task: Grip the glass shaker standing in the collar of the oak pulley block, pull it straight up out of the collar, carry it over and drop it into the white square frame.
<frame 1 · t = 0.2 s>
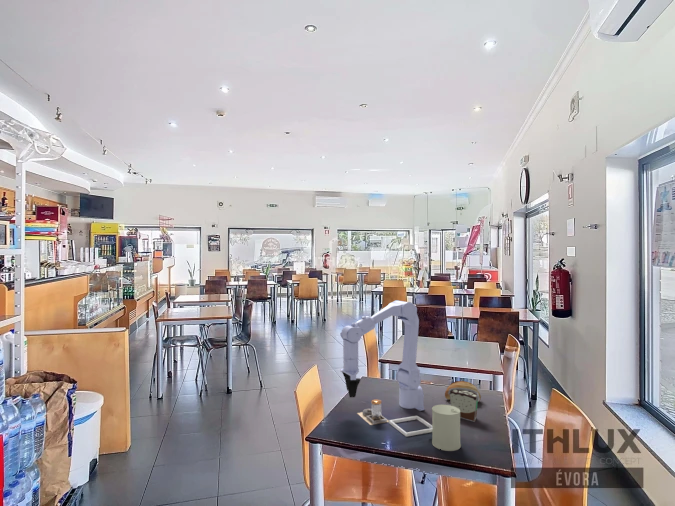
hand: (351, 393, 154), 10 cm above the table, tool pointing down, fingers open, 7 cm apart
can: (446, 445, 134), on the table
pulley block: (372, 421, 153), on the table
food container: (466, 416, 158), on the table
white square frame: (412, 431, 144), on the table
glass shaker: (376, 420, 150), point 1 cm above the table, touching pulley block
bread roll: (462, 401, 175), on the table
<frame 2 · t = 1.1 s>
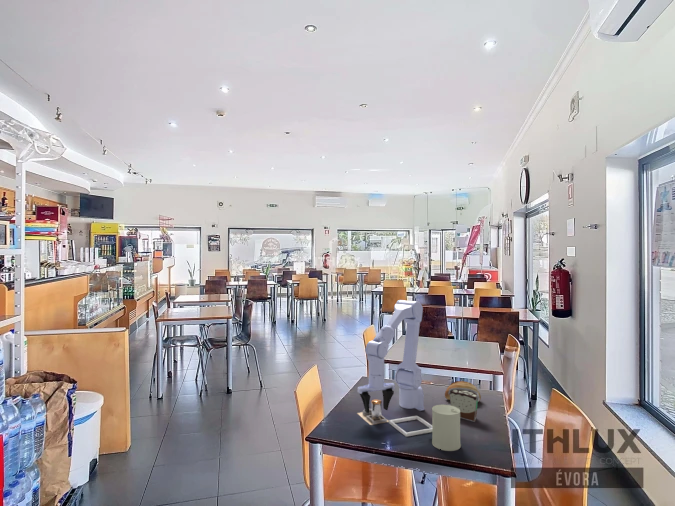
hand: (376, 410, 150), 5 cm above the table, tool pointing down, fingers open, 7 cm apart
nothing on the table moved.
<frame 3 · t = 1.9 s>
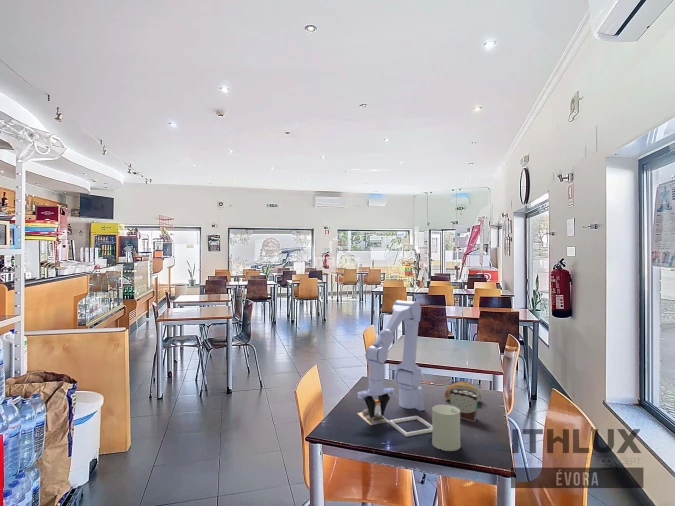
hand: (376, 415, 150), 3 cm above the table, tool pointing down, fingers closed on glass shaker, 4 cm apart
glass shaker: (376, 420, 150), point 2 cm above the table, touching gripper, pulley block
everything else where it was.
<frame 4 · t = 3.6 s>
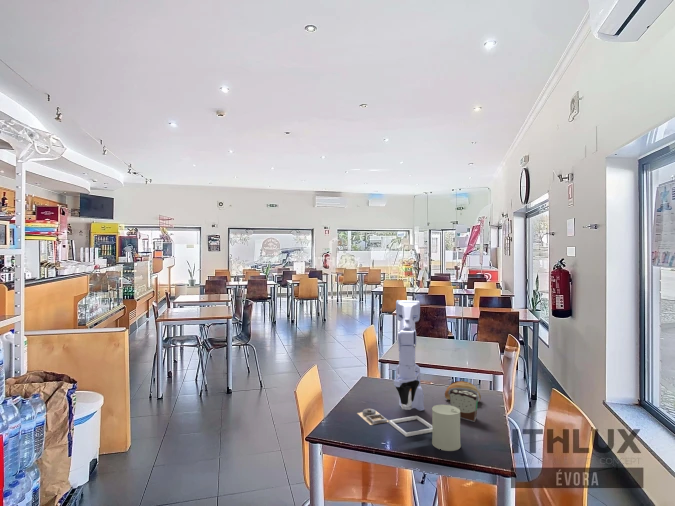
hand: (407, 402, 145), 10 cm above the table, tool pointing down, fingers closed on glass shaker, 4 cm apart
glass shaker: (406, 408, 145), point 8 cm above the table, touching gripper
everything else where it was.
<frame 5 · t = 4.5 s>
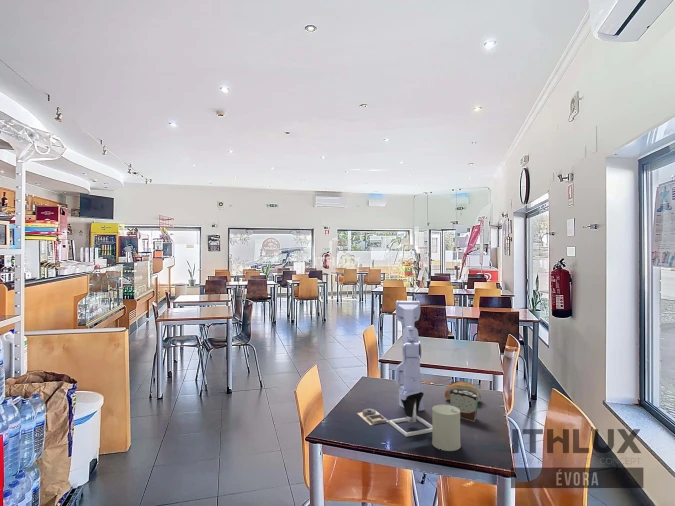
hand: (411, 414, 144), 6 cm above the table, tool pointing down, fingers closed on glass shaker, 4 cm apart
glass shaker: (411, 420, 144), point 4 cm above the table, touching gripper
everything else where it was.
when the fingers open (4 cm above the table, at t = 5.2 s): glass shaker drops 1 cm, resting on white square frame.
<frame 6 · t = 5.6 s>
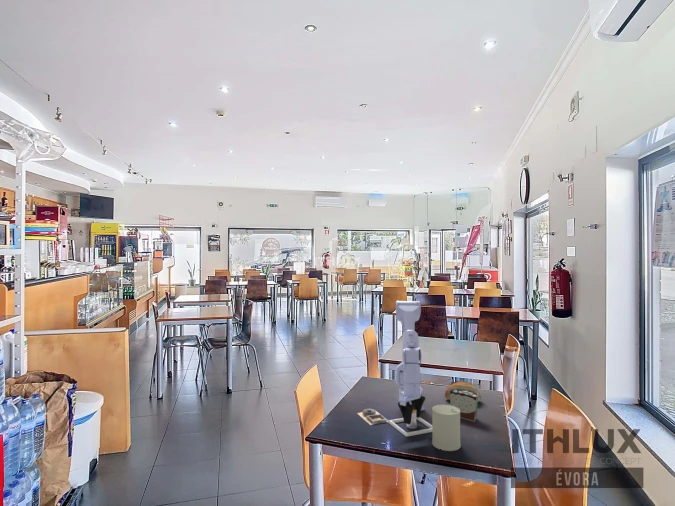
hand: (411, 420, 144), 4 cm above the table, tool pointing down, fingers open, 7 cm apart
glass shaker: (411, 429, 144), point 1 cm above the table, touching white square frame
everything else where it was.
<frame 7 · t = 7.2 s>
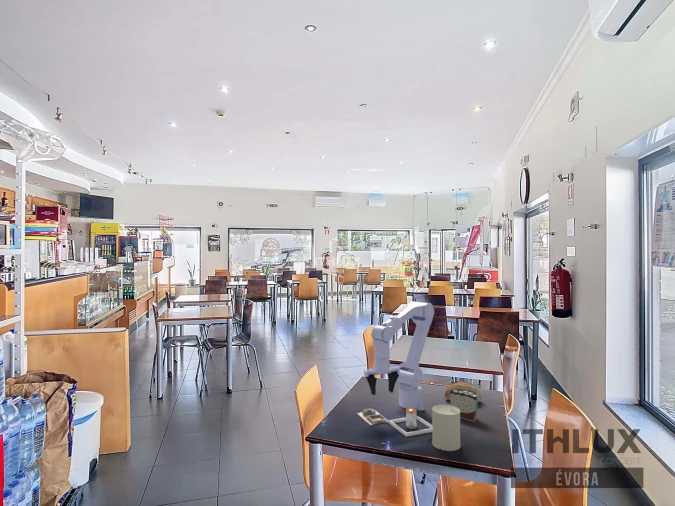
hand: (382, 393, 155), 10 cm above the table, tool pointing down, fingers open, 7 cm apart
nothing on the table moved.
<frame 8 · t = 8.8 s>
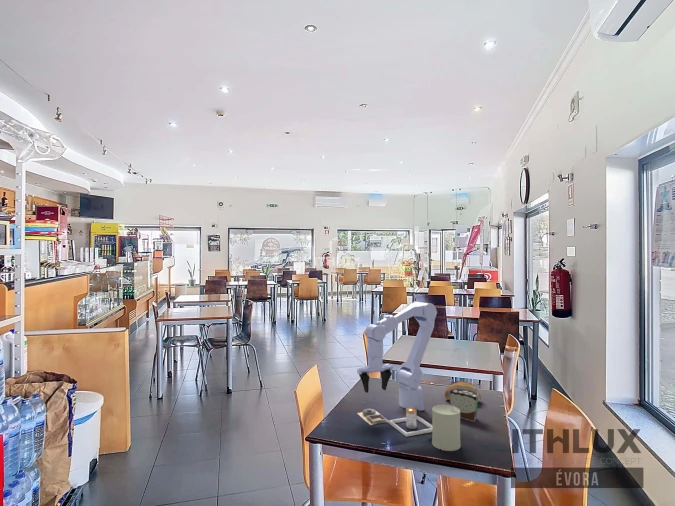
hand: (375, 390, 158), 10 cm above the table, tool pointing down, fingers open, 7 cm apart
nothing on the table moved.
at the end: glass shaker inside the target area on the white square frame (0.3 cm from its centre), point 0.5 cm above the white square frame's base; the gripper is holding nothing; glass shaker moved 13.2 cm from its start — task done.
